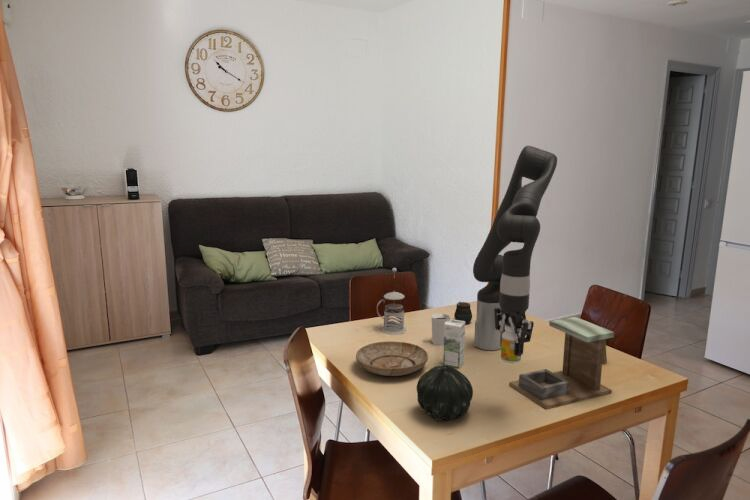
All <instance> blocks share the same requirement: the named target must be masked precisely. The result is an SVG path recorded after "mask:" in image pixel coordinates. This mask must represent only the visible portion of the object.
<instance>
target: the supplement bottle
mask: <svg viewBox="0 0 750 500" xmlns="http://www.w3.org/2000/svg"><path fill="white" fill-rule="evenodd" d="M520 329H521V328H519V329H516V330H517V331H518V330H520ZM518 336H519V338H520V333H519V334H518ZM514 348H515V337H514V334H512V330H511V327H510V326H508V325H506V324H505V332H503V333H502V341H501V348H500V360H501V361H502V362H504V363H508V364H517V363H519V362H521V360H522V355H520V356H516V355H514Z"/></svg>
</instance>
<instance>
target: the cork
mask: <svg viewBox="0 0 750 500" xmlns="http://www.w3.org/2000/svg"><path fill="white" fill-rule="evenodd" d="M607 357H608V355H607V339H604V349H603V360H602V365H605V364H607V363H608V360H607V359H608V358H607Z"/></svg>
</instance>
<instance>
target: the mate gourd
mask: <svg viewBox="0 0 750 500" xmlns="http://www.w3.org/2000/svg"><path fill="white" fill-rule="evenodd" d="M472 319H473V313H472V309H471V303H469V302H466V301H458V302H457V303H456V309H455V312H454V320H460V321H465V325H467V324H470V323H471V322H472Z"/></svg>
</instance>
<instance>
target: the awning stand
mask: <svg viewBox="0 0 750 500" xmlns="http://www.w3.org/2000/svg"><path fill="white" fill-rule="evenodd" d="M548 326H549V327H551V328H553V329H556V330H558V331H559V332H563V333H564V345H563V358H562V359H563V361H562V370H560V371H555V372H553V371H550V370H549V369H546V368H545V369H539V370H535V371H531V372H526V373H521V374H519V375H518V379H517V380H514V381H509V383H508V385H509V386H510V387H511V388H513V389H514V390H516V391H517V392H519V393H521V394H522V395H523V396H525V397H526V398H528V399H529V400H531V401H533V402H534V403H536V404H537V405H539V406H540V407H542V408H544V409H545V410H549V409H554V408H557V407H561V406H565V405H569V404H572V403H573V404H574V403H577V402H581V401H585V400H590V399H593V398H597V397H601V396H604V395H609V394H612V391H613V389H611V388H609V387H607V386H605V385H603V384H601V383H602V382H601V381H602V380H601V379H602V370H603V364H602V360H603V349H604V339H606V340H608V339H612V338H614V337H615V332H614V331H612V330H611V329H608V328H605V327H602V326H600V325H597V324H594V323H592V322H589V321H587V320H584V319H582V318H579V317H577V316H572V317H566V318H559V319H555V320H554V319H553V320H549V325H548Z"/></svg>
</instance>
